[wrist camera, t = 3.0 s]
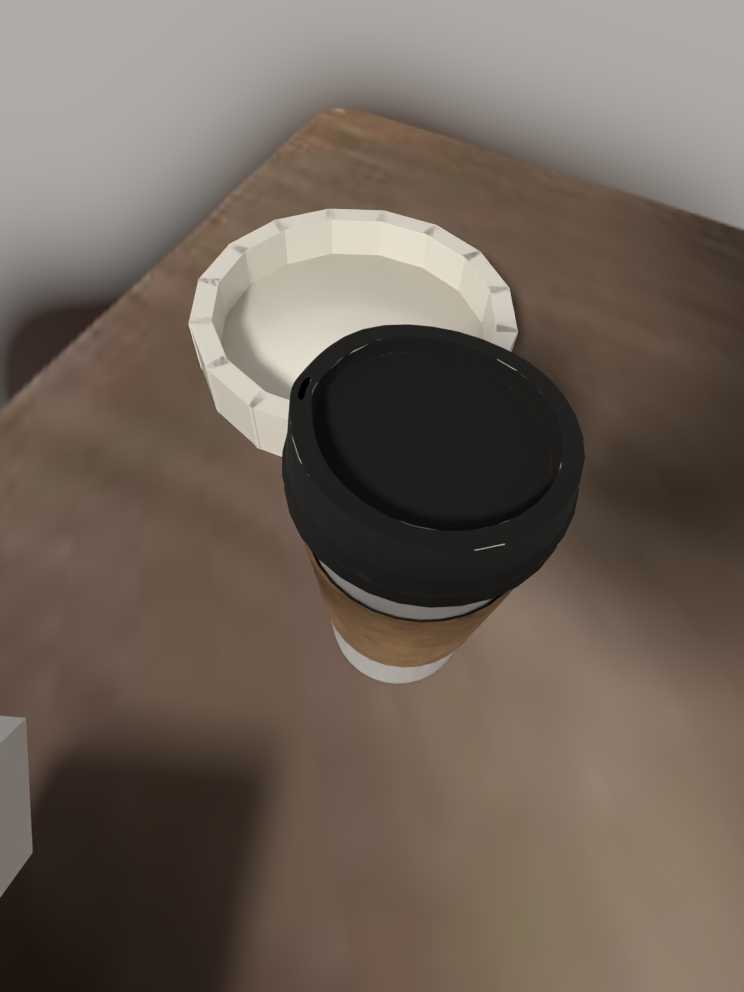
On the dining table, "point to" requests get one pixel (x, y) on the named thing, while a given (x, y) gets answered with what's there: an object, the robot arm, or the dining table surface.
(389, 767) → the dining table surface
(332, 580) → the coffee cup
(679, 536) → the dining table surface
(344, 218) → the serving bowl
